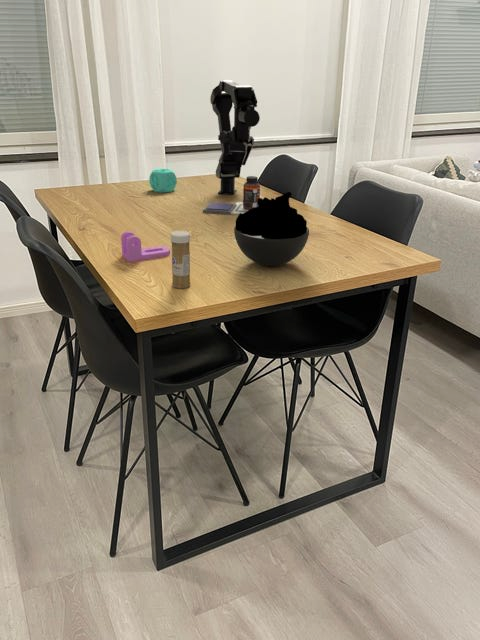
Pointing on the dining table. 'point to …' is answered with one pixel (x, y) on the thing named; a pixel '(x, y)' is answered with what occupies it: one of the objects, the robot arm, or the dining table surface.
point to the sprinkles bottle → (180, 259)
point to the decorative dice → (163, 180)
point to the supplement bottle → (251, 193)
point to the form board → (239, 209)
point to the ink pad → (219, 208)
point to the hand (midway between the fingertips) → (241, 167)
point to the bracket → (134, 251)
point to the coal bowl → (271, 231)
